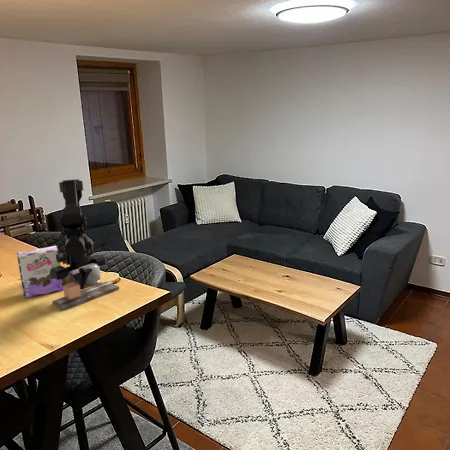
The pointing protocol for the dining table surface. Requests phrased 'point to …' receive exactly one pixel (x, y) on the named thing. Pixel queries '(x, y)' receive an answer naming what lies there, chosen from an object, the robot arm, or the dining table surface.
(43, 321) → the dining table surface
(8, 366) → the dining table surface
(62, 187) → the robot arm
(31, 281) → the candy box
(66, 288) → the peach cube
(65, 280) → the walnut block
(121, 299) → the dining table surface
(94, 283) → the grey rounded cylinder
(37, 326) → the dining table surface
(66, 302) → the board
